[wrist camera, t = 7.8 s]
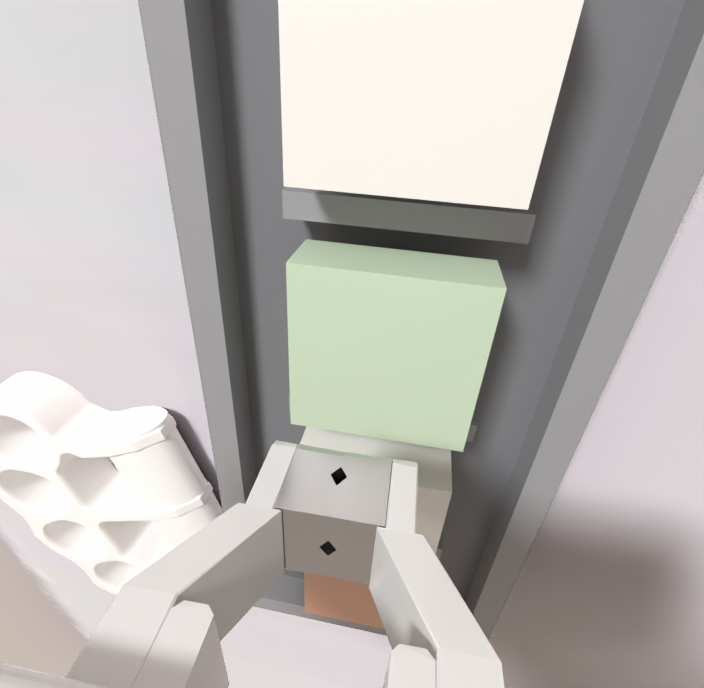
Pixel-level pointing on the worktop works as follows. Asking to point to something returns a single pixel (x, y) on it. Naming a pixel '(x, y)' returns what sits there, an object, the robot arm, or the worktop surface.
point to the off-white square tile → (429, 459)
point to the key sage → (389, 340)
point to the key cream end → (421, 95)
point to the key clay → (340, 600)
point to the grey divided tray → (433, 237)
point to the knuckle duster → (98, 478)
